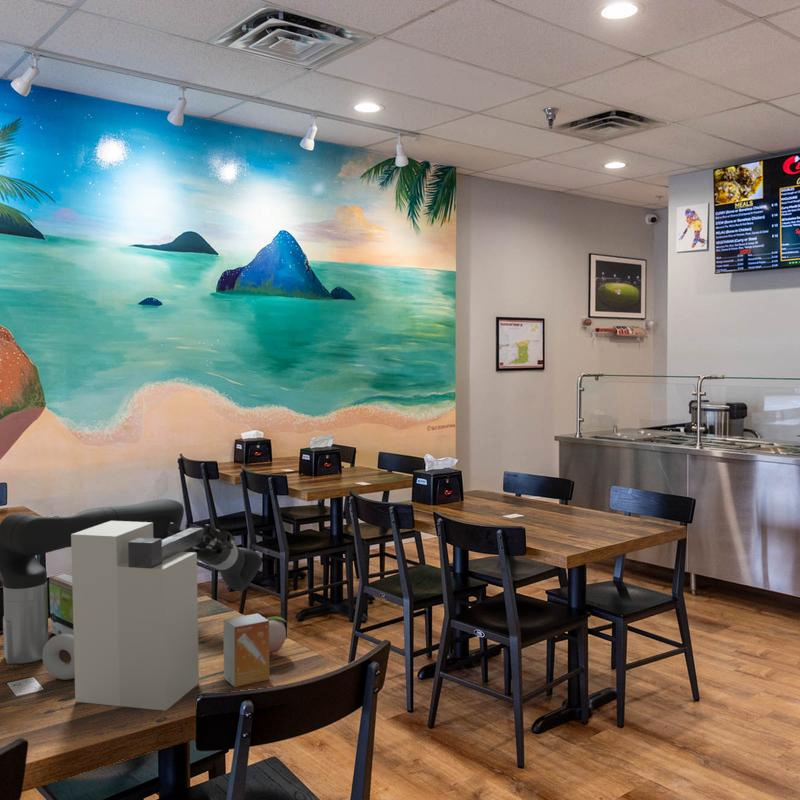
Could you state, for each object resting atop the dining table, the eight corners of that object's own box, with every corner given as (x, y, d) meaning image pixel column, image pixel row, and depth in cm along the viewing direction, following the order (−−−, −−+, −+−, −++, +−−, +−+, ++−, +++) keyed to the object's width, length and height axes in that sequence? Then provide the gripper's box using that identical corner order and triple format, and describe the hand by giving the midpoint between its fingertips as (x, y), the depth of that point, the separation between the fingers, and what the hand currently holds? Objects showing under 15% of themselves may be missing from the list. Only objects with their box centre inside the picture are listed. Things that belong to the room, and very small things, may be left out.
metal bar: (186, 540, 185) (186, 518, 184) (207, 541, 183) (207, 519, 183) (128, 567, 161) (128, 542, 161) (151, 568, 160) (151, 543, 160)
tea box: (49, 634, 206) (47, 575, 206) (86, 624, 214) (85, 568, 213) (79, 647, 197) (77, 586, 196) (117, 636, 204) (116, 577, 204)
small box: (234, 688, 172) (233, 626, 171) (223, 678, 177) (222, 618, 176) (270, 679, 176) (269, 620, 175) (258, 670, 181) (257, 612, 181)
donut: (39, 681, 176) (38, 635, 175) (48, 675, 179) (47, 630, 179) (83, 683, 175) (82, 637, 174) (91, 677, 178) (90, 632, 177)
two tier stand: (114, 675, 179) (111, 520, 177) (199, 683, 174) (196, 524, 173) (75, 701, 165) (71, 534, 164) (165, 710, 161) (162, 538, 159)
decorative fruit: (253, 666, 184) (253, 622, 183) (242, 654, 191) (241, 612, 191) (293, 658, 188) (292, 615, 188) (280, 647, 196) (280, 606, 195)
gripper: (241, 567, 190) (214, 546, 176) (185, 564, 194) (154, 542, 179) (248, 536, 194) (221, 512, 180) (192, 533, 197) (162, 510, 183)
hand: (187, 527), depth 180 cm, fingers open, 8 cm apart
